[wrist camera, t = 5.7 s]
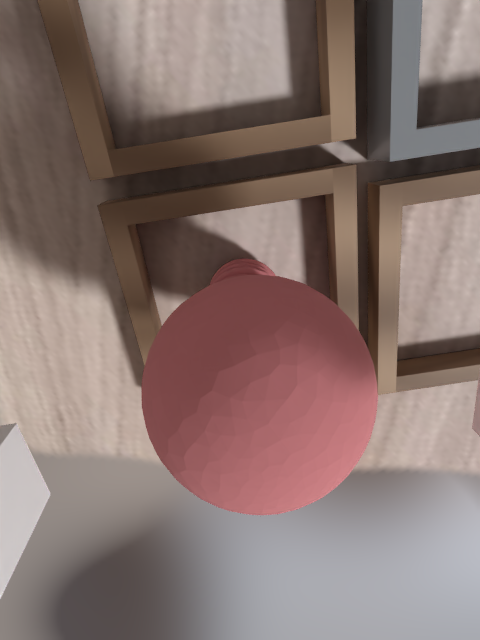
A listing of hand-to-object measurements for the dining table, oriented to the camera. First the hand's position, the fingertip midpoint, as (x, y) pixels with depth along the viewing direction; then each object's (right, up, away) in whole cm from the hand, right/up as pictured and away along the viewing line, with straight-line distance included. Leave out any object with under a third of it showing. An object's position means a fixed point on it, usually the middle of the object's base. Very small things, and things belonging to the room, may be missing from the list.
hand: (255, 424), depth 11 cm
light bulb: (0, +4, +9) cm, 10 cm away
